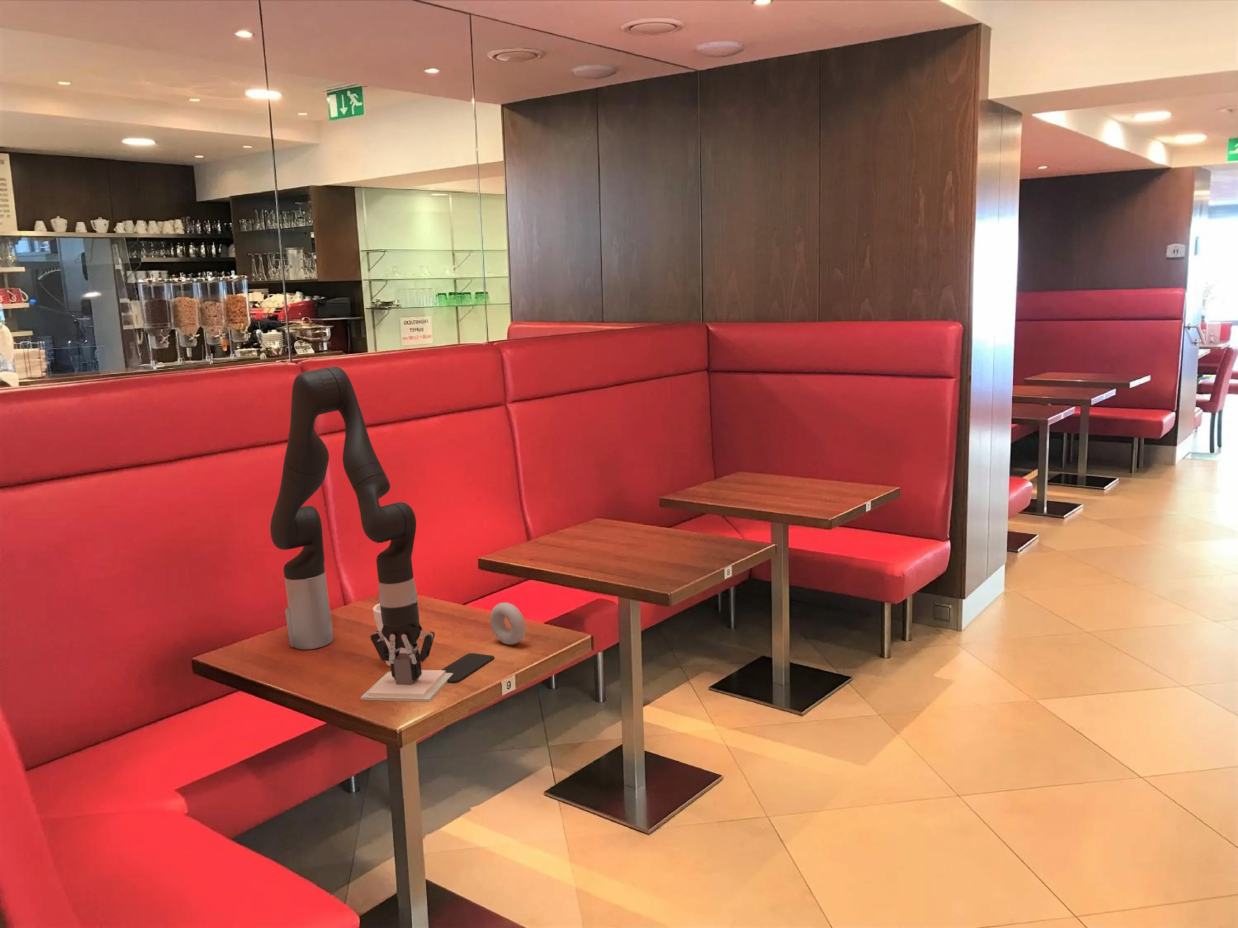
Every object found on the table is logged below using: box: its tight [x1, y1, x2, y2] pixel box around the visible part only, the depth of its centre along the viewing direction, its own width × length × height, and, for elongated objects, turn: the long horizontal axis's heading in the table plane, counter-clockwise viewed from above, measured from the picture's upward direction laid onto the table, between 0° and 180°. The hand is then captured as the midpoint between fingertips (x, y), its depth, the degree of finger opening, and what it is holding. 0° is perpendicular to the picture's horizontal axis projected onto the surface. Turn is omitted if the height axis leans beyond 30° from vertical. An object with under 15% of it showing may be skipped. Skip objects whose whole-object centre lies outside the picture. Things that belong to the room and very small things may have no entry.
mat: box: [360, 671, 453, 703], centre depth 202 cm, size 15×13×1 cm
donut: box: [489, 602, 526, 646], centre depth 222 cm, size 10×4×10 cm, turn 52°
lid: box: [368, 653, 446, 698], centre depth 201 cm, size 12×12×6 cm
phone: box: [441, 652, 495, 684], centre depth 211 cm, size 7×1×15 cm
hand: (407, 678), depth 202 cm, fingers closed on lid, 3 cm apart
